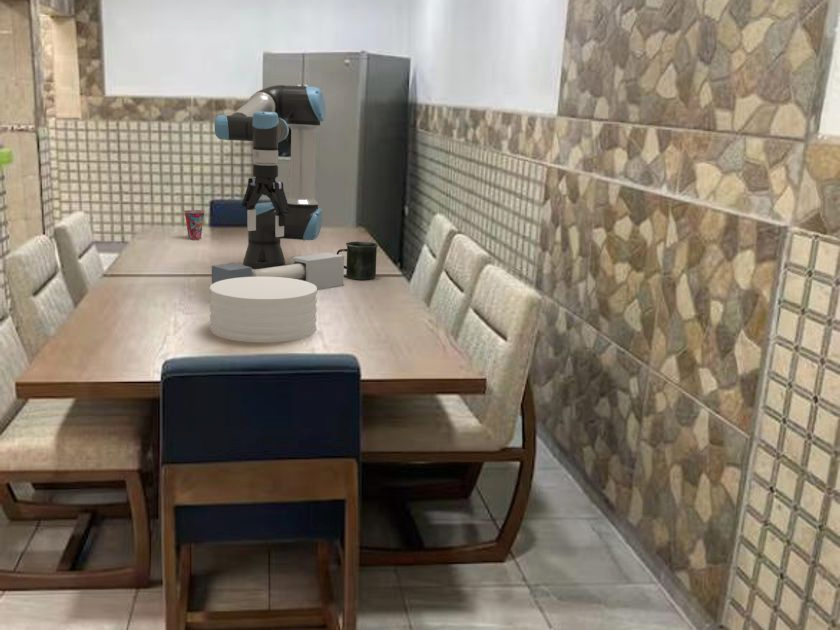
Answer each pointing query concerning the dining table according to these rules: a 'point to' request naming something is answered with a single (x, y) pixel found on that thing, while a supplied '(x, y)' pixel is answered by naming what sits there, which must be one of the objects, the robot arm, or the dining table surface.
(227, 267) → the socket
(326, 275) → the sleeve
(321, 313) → the dining table surface
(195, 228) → the cup
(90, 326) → the dining table surface
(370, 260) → the mug
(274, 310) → the plate stack
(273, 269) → the tube
